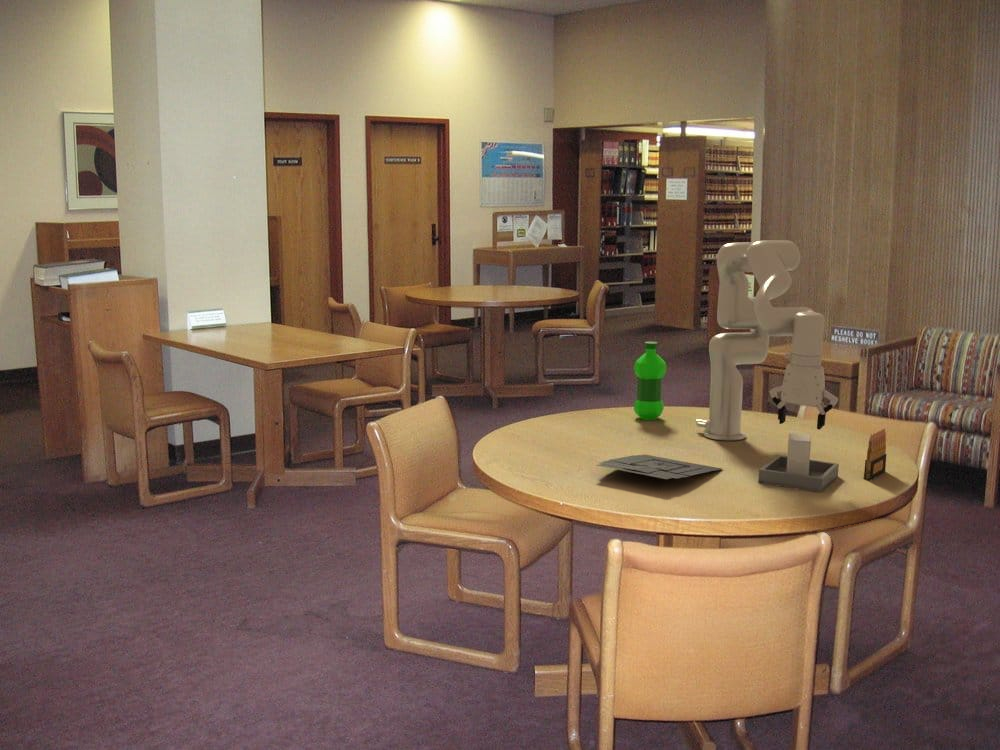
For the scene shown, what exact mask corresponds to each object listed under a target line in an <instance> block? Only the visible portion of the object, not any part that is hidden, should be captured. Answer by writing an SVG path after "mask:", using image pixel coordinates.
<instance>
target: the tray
mask: <svg viewBox="0 0 1000 750" xmlns="http://www.w3.org/2000/svg"><path fill="white" fill-rule="evenodd" d="M839 466H840V463H836V462H830V461H824V460H823V461H822V460H817V459H816V460H814V459H810V462H809V476H806V475H799V474H793V473H787V455H780V454H778V455H776V456H775V457H774V458H773V459H771V460H769V462H767V463H766V464H764V465H763V466H762V467H760V469H759V470H758V484H759V483H760V484H763V483H764V485H770V484H771V486H776V485H779V486H778V487H783V486H785V487H784V488H789V487H791V488H790V489H795V488H798V489H797V490H802V489H805V490H804V491H808V490H811V491H810V492H815V491H818V492H817V493H821V492H822V491H823V490H824V489H825V488H826V487H827V486H828V485H829V486H830V485H831V484H832V483H833V482H834V481H835V480H836V479H837V478H838V477H839V469H840V468H839ZM829 486H828V487H829ZM828 487H827V488H828ZM827 488H826V489H827ZM826 489H825V490H826ZM825 490H824V491H825ZM824 491H823V492H824ZM823 492H822V493H823Z"/></svg>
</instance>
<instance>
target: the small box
mask: <svg viewBox="0 0 1000 750" xmlns="http://www.w3.org/2000/svg"><path fill="white" fill-rule="evenodd" d="M811 437H812V436H811V434H804V433H791V432H790V433H788V440H787V441H788V442H787V455H786V456H787V473H793V474H799V475H806V476H809V462H810V460H811V446H812V445H811V444H812V443H811V441H812V438H811Z"/></svg>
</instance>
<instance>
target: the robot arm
mask: <svg viewBox="0 0 1000 750" xmlns="http://www.w3.org/2000/svg"><path fill="white" fill-rule="evenodd" d="M800 261H801V253H800V248H799V247H798V245H796V243H794V242H793V241H792V240H785V239H784V240H783V239H782V240H781V239H778V240H777V239H776V240H772V239H770V240H768V239H767V240H765V239H764V240H757V241H754V242H751V241H746V242H745V241H744V242H742V241H741V242H739V241H738V242H737V241H736V242H730V243H726V244H722V246H721V247H720V248H719V250H718V252H717V257H716V267H717V273H718V280H719V289H718V296H717V297H718V298H717V299H718V300H717V310H716V311H717V313H716V319H717V324H718V326H720V328H723V329H726V330H749V331H750V332H722V333H719V334H716V335H714V336H712V338H711V339H710V340H709V342H708V343H709V344H708V351H709V359H710V360H709V361H710V393H709V412H708V413H709V415H708V417H709V418H708V419H706V420H704V419H700V418H697V419H696V421H695V425H696V426H697V427H699V428H704V430H703V433H702V435H703V436H704V437H706V438H708V439H711V440H716V441H740V440H744V439H745V438H746V435H747V434H746V432H744V431H743V430H741V427H742V426H741V425H742V410H743V409H742V407H743V406H742V405H743V387H744V379H743V375H742V374H741V373H740V371H739V370H738V368H737V366H738V365H756V364H757V365H759V364H762V363H763V362H765V360H766V359H767V356H768V354H769V347H770V337H792V340H791V352H789V353H785V356H784V357H785V360H788V361H789V363H788V364H786V368H785V372H784V375H783V381H782V385H781V384H780V386H777V387H773V388H771V389H769V394H770V397H771V400H772V402H773V403H774V405H776V408H777V409H778V411H777V420H778V422H779V424H780V425H782V424H783V423H786V416H787V407H786V404H790V405H795V406H803V407H809V408H811V407H812V408H816V409H817V410H818V412H819V413H818V414H817V421H816V422H817V424H816V429H817V430H821V429H822V428H823V427H825V425H826V415H827V413H828V412H830V411H831V410H832V409H833V408H834V407H835V405H836V404H837V403H838V401H839V397H837V396H835V395H834V394H832V393H830V392H829V391H828V390H826V386H825V385H826V383H825V380H826V379H825V378H826V377H825V369H824V366H822V359H823V348H824V335H825V323H826V320H825V319H826V318H825V316H824V314H822V313H820V312H815V311H814V310H813V309H812V308H810V307H806V306H783V307H782V306H781V307H779V306H777V307H776V306H775V307H774V306H773V305H772V304H771V300H773V299H774V300H775V299H776V298H778V297H780V296H782V295H784V294H785V293H786V292H787V291H788V290H789V289H790V287H791V285H792V281H793V280H792V276H791V274H790V271H794V270H795V269H797V268H798V267H799V265H800ZM746 273H753V275H754V278H755V281H756V282H757V284H758V286H759V289H758V291H757V293H756V295H755V296H749V289H750V282H749V279H748V277H747V275H746ZM779 392H781V394H780V395H781V397H780V398H779V396H778V394H777V393H779ZM825 398H826V399H827V400H829V403H828V405H827V406H826V405H825V404H824V402H825Z"/></svg>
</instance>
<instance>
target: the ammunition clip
mask: <svg viewBox="0 0 1000 750" xmlns="http://www.w3.org/2000/svg"><path fill="white" fill-rule="evenodd" d="M886 441H887V433H886V429H885V428H883V429H881V430H878V431H876V432H875V433H873V434H871V435H870V436H869V439H868V446H867V451H866V459H865V461H864V473H863V480H866V479H868V480H867V481H872V480H874V479H876V478H878V477H879V476H881V475H882V474H884V473H886V468H887V467H886V465H887V453H886V452H887V443H886ZM875 477H876V478H875Z"/></svg>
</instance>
